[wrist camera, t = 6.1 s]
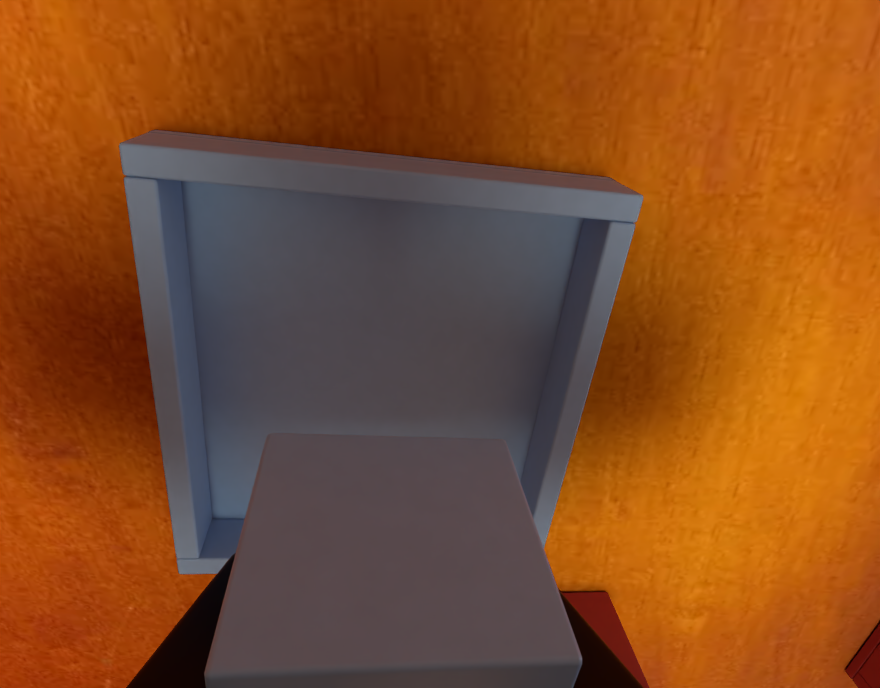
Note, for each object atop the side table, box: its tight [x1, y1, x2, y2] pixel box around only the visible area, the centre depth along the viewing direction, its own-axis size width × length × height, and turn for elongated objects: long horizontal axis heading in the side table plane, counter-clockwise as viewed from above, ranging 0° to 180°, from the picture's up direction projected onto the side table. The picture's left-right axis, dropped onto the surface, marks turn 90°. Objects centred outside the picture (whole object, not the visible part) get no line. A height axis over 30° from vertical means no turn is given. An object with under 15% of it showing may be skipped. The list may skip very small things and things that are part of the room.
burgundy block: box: [562, 592, 649, 688], centre depth 19 cm, size 4×4×4 cm
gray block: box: [204, 433, 582, 688], centre depth 8 cm, size 4×4×4 cm
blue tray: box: [119, 130, 643, 574], centre depth 14 cm, size 11×10×2 cm
